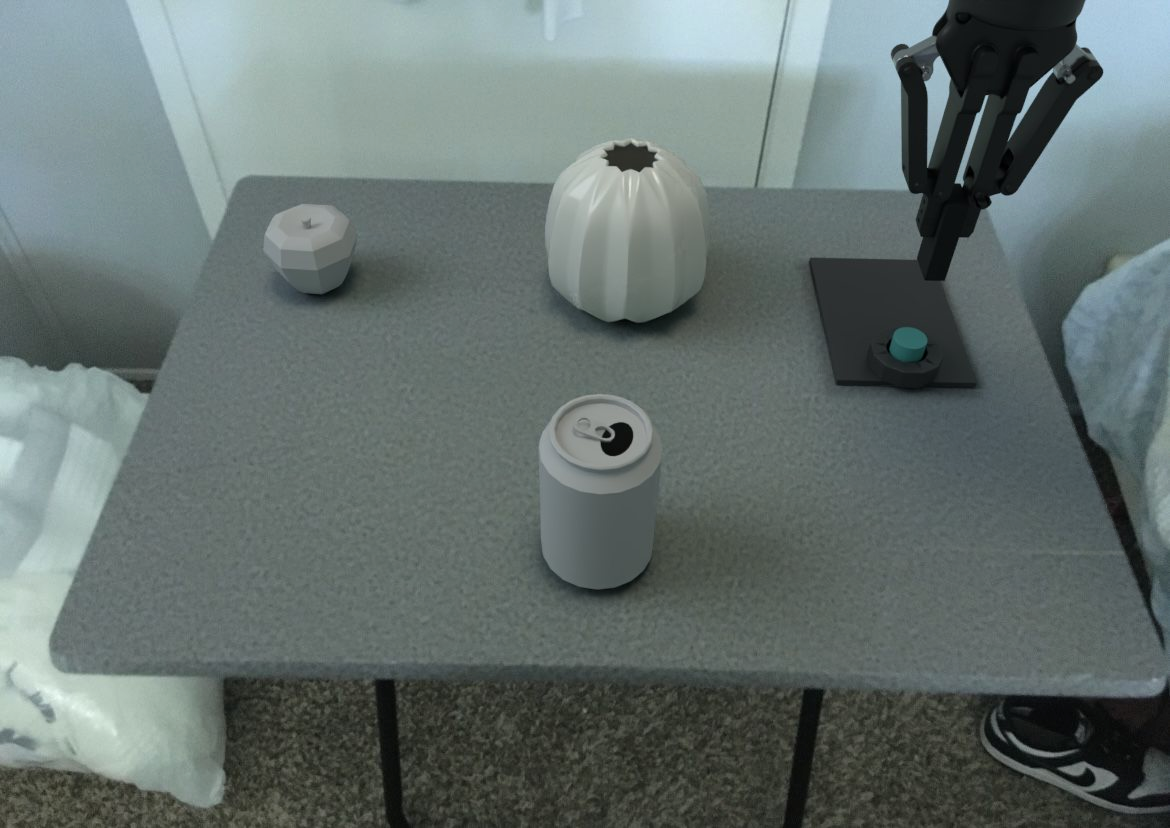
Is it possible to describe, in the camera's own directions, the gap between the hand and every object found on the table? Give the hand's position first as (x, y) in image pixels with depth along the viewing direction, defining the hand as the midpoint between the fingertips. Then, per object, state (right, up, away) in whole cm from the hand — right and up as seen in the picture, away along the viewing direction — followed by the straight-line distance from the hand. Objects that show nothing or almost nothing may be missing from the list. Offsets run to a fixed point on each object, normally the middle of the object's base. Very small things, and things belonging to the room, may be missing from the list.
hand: (930, 269), depth 76 cm
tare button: (0, -6, +6) cm, 8 cm away
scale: (0, -3, +11) cm, 11 cm away
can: (-25, -20, -6) cm, 32 cm away
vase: (-22, 0, +14) cm, 26 cm away
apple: (-49, +1, +14) cm, 51 cm away
